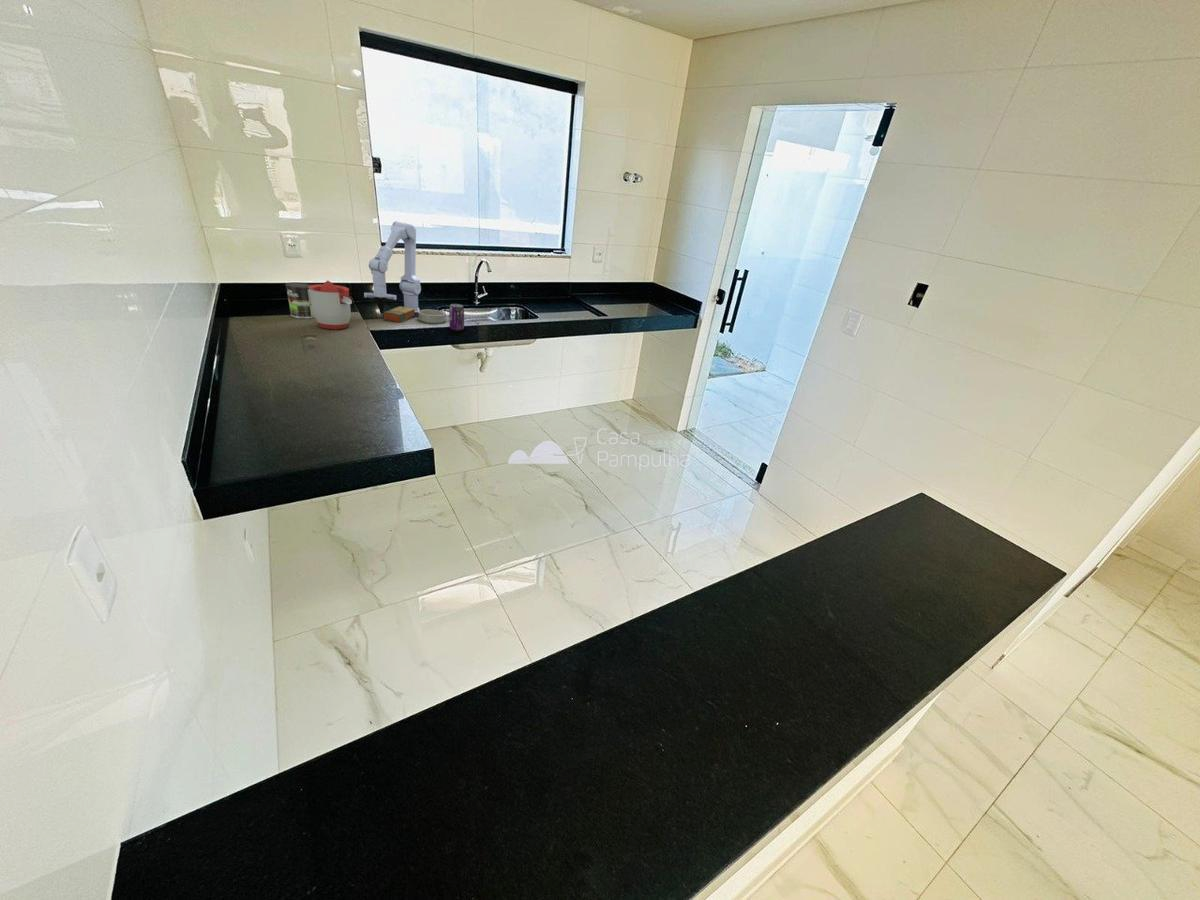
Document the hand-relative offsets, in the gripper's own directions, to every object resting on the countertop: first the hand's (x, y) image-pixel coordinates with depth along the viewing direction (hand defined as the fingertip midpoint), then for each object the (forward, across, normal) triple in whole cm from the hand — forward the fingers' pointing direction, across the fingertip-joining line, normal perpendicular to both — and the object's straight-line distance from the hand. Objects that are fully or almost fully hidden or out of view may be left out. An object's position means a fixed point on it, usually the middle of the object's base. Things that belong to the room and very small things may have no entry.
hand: (381, 312), depth 234 cm
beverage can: (+2, +36, -15) cm, 39 cm away
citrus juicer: (+2, -17, -24) cm, 29 cm away
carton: (+2, +8, 0) cm, 9 cm away
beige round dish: (+2, +24, 0) cm, 24 cm away
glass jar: (+2, -33, -8) cm, 34 cm away
